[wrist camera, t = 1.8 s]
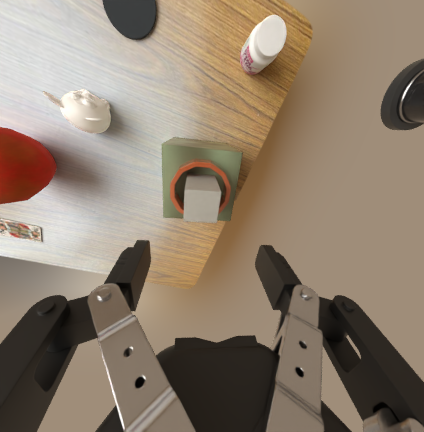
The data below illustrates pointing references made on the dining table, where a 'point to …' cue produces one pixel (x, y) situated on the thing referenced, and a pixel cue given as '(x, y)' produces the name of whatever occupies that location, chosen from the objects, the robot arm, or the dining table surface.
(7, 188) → the apple
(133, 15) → the coaster
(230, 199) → the stand
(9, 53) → the dining table surface
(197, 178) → the block
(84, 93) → the figurine
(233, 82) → the dining table surface
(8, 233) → the playing card
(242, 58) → the pill bottle
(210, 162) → the segmented terracotta ring
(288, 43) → the dining table surface
